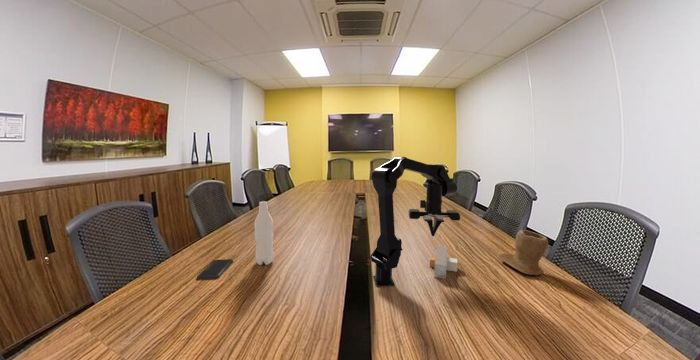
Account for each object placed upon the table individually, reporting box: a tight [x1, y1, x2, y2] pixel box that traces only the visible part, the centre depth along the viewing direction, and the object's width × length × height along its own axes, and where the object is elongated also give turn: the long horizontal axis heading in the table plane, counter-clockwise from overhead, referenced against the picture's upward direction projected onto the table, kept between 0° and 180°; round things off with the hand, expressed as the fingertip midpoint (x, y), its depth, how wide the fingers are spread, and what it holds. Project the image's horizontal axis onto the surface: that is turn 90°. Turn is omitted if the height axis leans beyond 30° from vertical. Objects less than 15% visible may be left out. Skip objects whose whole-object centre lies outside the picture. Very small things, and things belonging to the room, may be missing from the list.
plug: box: [429, 256, 458, 272], centre depth 102 cm, size 10×4×4 cm, turn 69°
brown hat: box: [497, 229, 549, 276], centre depth 101 cm, size 15×12×15 cm
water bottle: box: [253, 200, 275, 266], centre depth 104 cm, size 7×7×25 cm
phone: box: [196, 258, 234, 280], centre depth 99 cm, size 8×1×15 cm
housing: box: [433, 245, 448, 280], centre depth 102 cm, size 4×20×5 cm, turn 159°
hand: (432, 235), depth 102 cm, fingers closed
